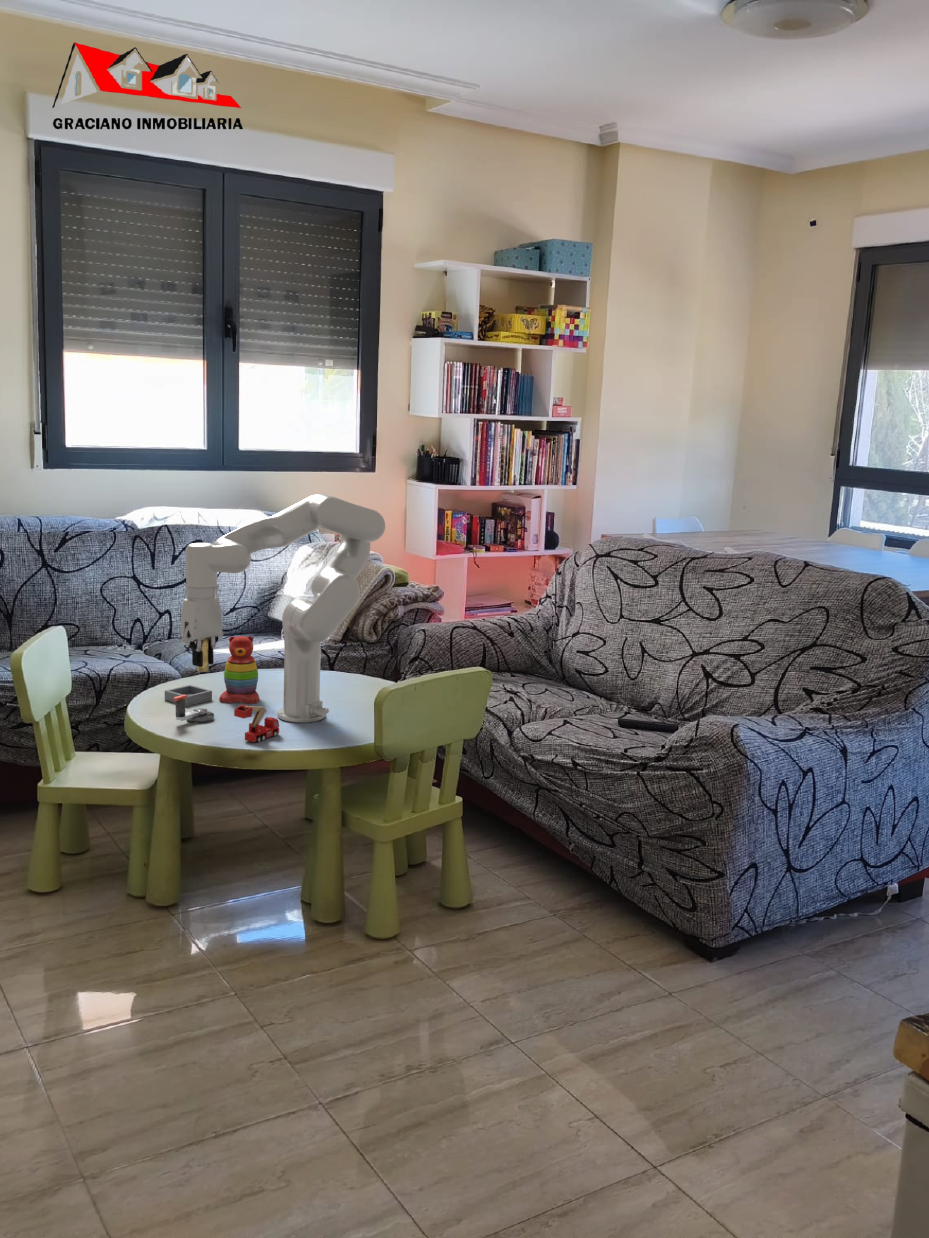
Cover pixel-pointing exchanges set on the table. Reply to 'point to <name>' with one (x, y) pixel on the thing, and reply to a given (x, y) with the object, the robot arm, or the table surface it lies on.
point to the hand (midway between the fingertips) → (202, 663)
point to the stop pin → (204, 656)
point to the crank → (181, 709)
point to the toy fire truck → (257, 723)
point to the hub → (202, 718)
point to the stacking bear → (240, 672)
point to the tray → (189, 694)
